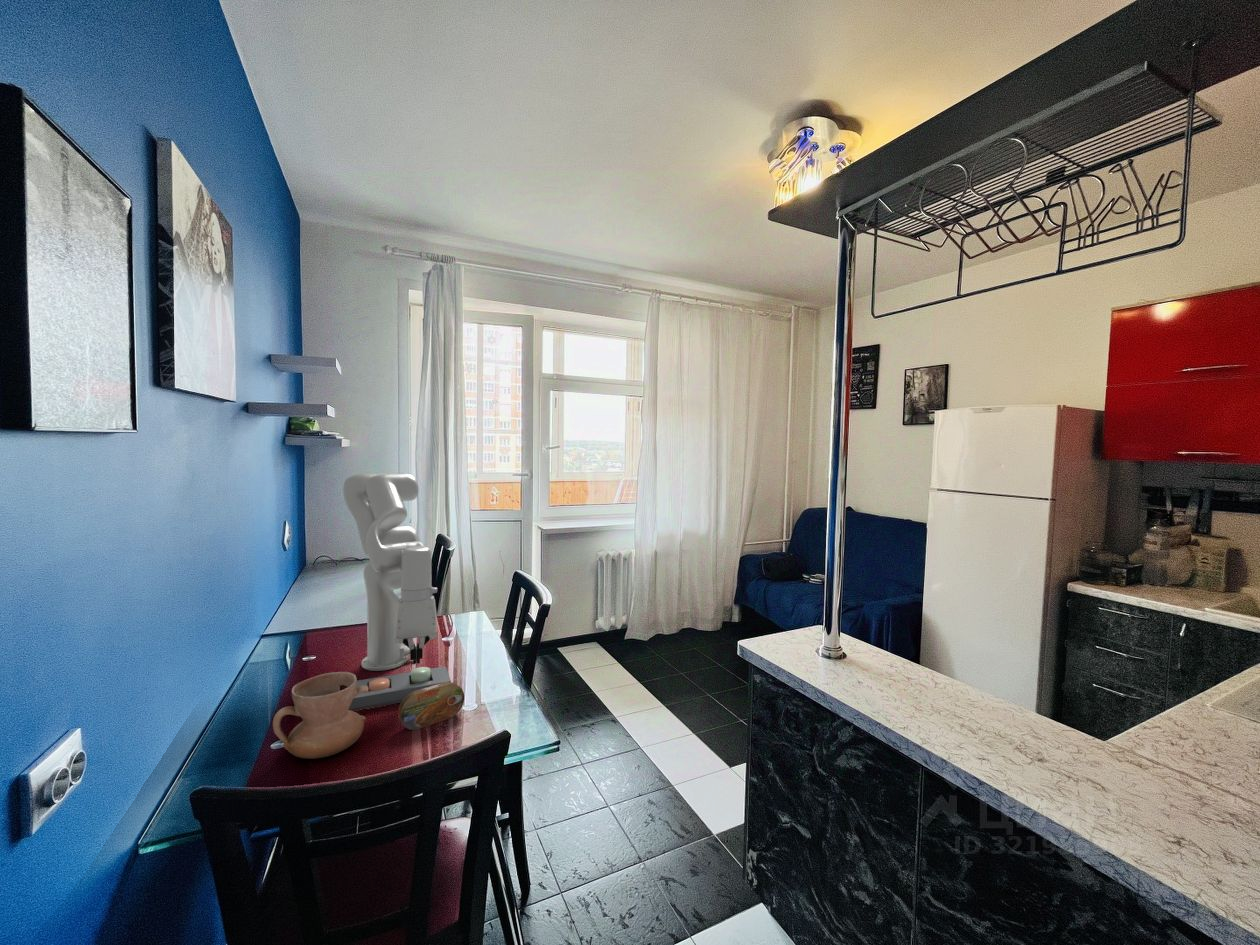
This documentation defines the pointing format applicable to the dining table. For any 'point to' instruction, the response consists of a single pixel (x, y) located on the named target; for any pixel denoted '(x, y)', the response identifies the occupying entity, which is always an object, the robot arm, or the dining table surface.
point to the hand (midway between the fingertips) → (416, 661)
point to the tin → (431, 705)
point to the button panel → (395, 689)
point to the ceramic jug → (322, 716)
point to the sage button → (420, 675)
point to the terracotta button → (379, 684)
